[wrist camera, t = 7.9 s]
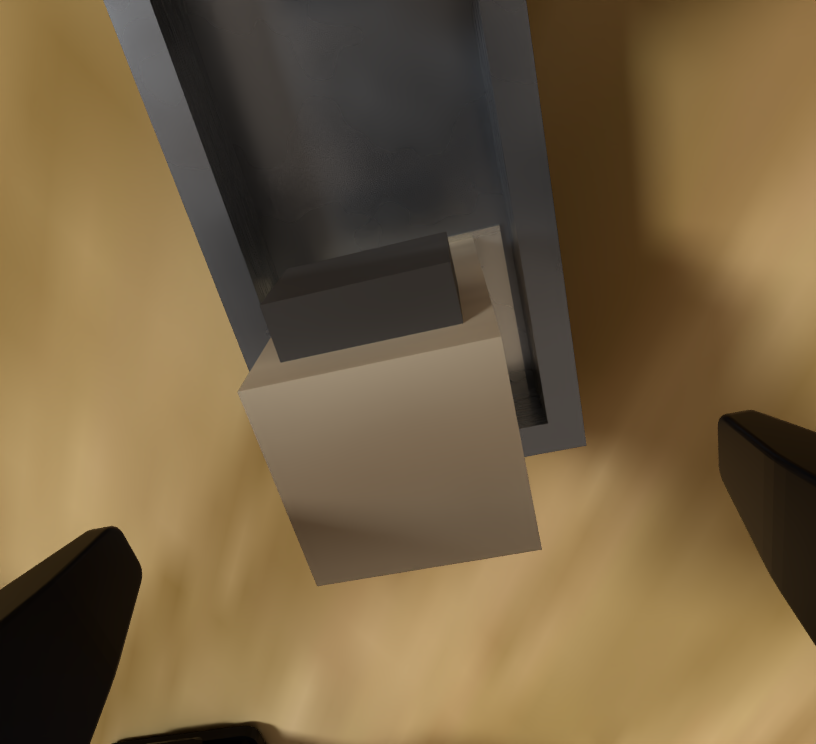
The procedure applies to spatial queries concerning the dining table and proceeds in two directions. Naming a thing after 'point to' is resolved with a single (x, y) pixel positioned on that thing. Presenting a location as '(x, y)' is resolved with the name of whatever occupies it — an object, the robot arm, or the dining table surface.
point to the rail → (364, 156)
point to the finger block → (391, 412)
